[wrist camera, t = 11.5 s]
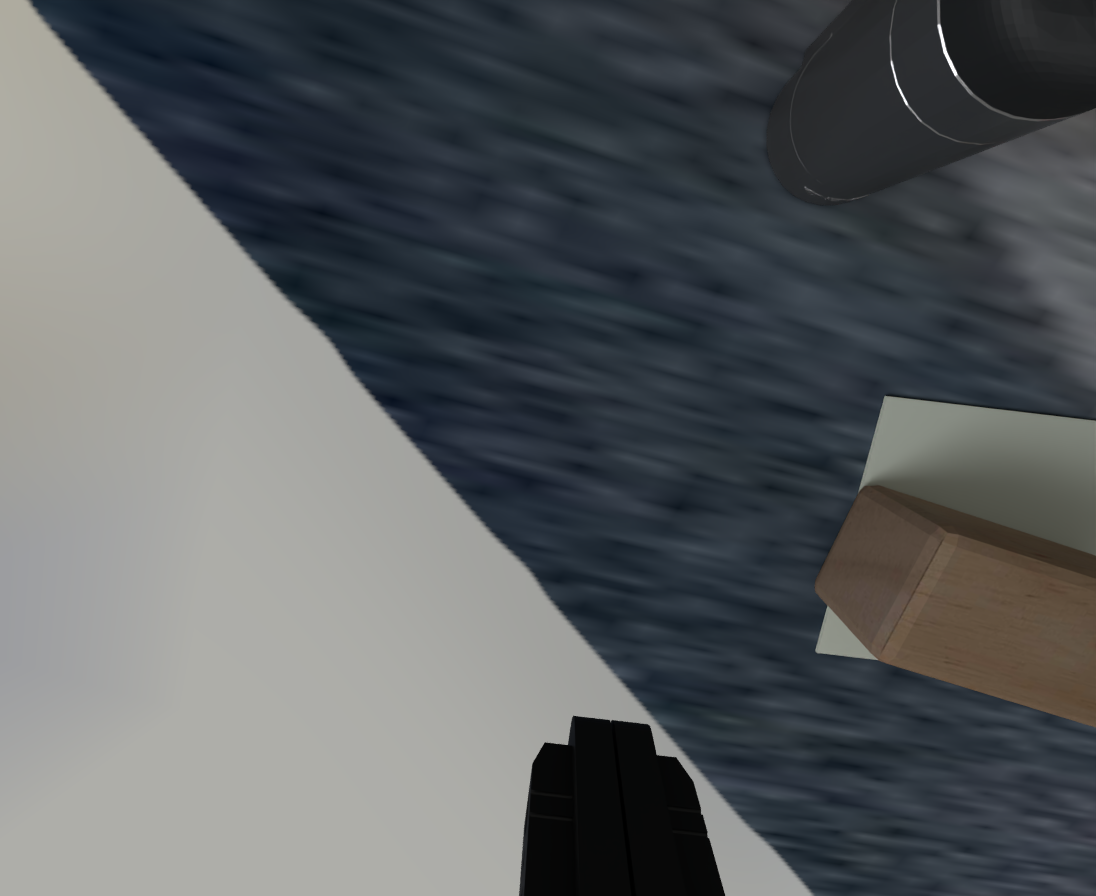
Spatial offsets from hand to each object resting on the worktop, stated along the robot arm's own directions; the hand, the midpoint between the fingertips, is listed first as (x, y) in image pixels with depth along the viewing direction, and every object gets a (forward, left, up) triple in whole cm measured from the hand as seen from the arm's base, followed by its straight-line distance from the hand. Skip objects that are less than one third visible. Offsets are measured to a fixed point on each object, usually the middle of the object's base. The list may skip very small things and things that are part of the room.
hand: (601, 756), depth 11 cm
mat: (+6, +34, -32) cm, 47 cm away
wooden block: (+6, +21, -27) cm, 35 cm away
